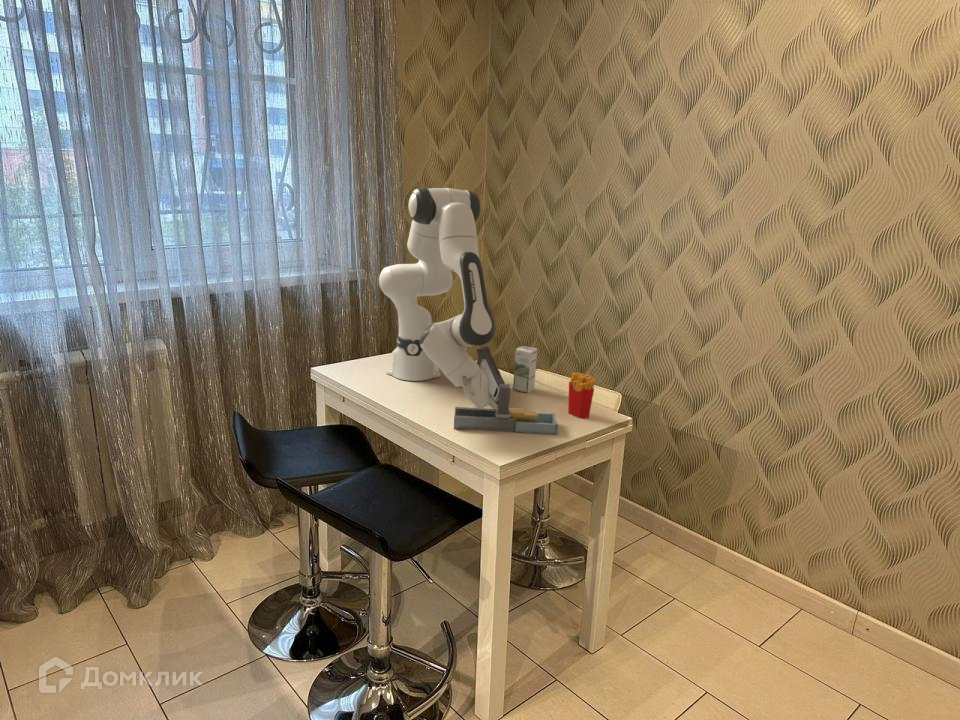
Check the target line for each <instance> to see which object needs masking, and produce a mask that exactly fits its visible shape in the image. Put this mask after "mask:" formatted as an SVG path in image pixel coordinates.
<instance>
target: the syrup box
mask: <svg viewBox="0 0 960 720" xmlns="http://www.w3.org/2000/svg"><path fill="white" fill-rule="evenodd" d="M537 358H538V348H536V347H529V346H525V345H521V346H519V347H517V348H515V356H514V366H513V367H514V369H513V385H512V390H513V391H517V392H520V393H526V394H528V393H529V394H530V393H531V392H532V391H533V390H534V389H535V382H536V381H535V380H536V371H537V369H536V368H537Z"/></svg>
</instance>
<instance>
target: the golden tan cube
mask: <svg viewBox="0 0 960 720" xmlns="http://www.w3.org/2000/svg"><path fill="white" fill-rule="evenodd" d="M509 410H510V418H512V419H514V426H515V425H516V422H524V410H525V409H524V408H522V407H521V408H520V407H509Z"/></svg>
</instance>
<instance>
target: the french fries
mask: <svg viewBox="0 0 960 720" xmlns="http://www.w3.org/2000/svg"><path fill="white" fill-rule="evenodd" d="M596 381H597V380H596V378H594V377H593V376H592V375H590V374H588V373H587V374H586V373H581V372H578V371H577V372H574V371H573V372H572V373H571V377H570V381H568V403H567V404H568V407H567V409H568V411H567V412H568V414H569V415H571V416H573V417H576V418H577V419H583V420H584V419H588V418H589V417H590V412H591V407H592V402H593V396H594V391H595V388H594V386H595V383H596Z"/></svg>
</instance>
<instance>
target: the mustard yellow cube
mask: <svg viewBox="0 0 960 720" xmlns="http://www.w3.org/2000/svg"><path fill="white" fill-rule="evenodd" d="M538 413H539V412H538V410H532V409H524V422H532V423H538Z"/></svg>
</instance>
